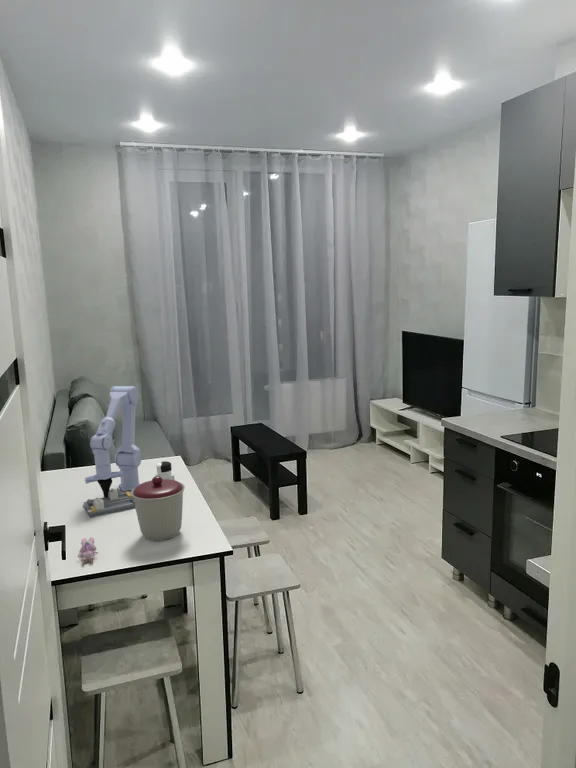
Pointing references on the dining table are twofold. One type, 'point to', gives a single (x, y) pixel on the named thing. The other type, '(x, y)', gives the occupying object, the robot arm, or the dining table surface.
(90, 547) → the rabbit figure
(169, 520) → the canister
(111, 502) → the switch board
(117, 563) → the dining table surface
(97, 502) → the tab
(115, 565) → the dining table surface
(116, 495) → the tab
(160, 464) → the medicine bottle
